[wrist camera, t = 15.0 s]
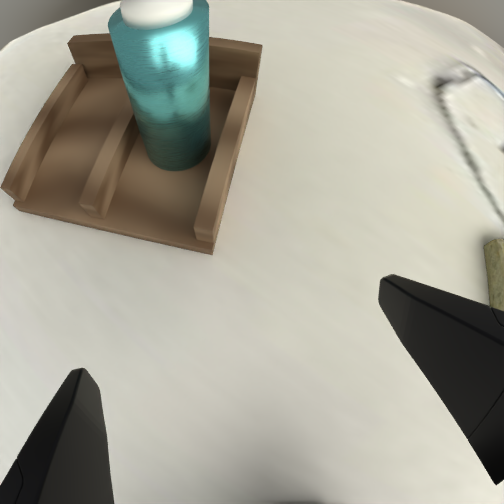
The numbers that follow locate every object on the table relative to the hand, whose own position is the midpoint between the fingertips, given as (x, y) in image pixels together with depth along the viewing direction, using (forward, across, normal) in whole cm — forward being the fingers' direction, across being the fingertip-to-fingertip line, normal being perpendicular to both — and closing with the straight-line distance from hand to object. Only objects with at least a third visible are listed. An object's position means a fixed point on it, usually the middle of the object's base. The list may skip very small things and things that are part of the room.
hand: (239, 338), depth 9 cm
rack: (+22, +3, -3) cm, 23 cm away
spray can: (+20, 0, -2) cm, 20 cm away
